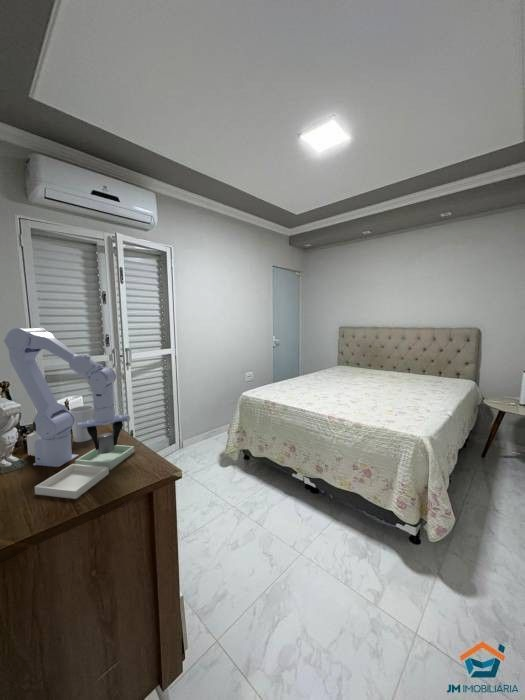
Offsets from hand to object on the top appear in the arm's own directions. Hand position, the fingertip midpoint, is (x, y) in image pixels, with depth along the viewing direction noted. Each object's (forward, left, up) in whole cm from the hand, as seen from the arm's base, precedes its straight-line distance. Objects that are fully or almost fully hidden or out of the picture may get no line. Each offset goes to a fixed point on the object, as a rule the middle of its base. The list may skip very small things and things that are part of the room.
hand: (106, 446), depth 91 cm
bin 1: (+1, -14, -5) cm, 15 cm away
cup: (-21, +14, -5) cm, 26 cm away
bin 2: (0, 0, -5) cm, 5 cm away
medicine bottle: (-25, +2, -5) cm, 26 cm away
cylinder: (0, 0, -1) cm, 1 cm away
